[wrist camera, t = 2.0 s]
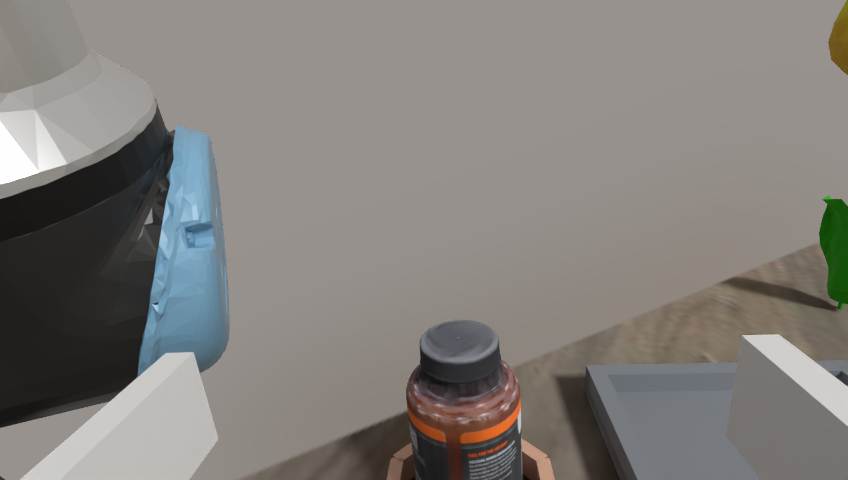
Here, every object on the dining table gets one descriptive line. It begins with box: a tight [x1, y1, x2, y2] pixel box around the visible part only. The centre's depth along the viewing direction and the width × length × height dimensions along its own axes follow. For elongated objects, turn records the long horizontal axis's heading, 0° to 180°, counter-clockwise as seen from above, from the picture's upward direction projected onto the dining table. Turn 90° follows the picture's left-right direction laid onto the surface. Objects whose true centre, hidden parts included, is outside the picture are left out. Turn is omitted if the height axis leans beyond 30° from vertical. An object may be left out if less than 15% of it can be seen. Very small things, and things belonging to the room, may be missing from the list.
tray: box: [585, 360, 848, 480], centre depth 25 cm, size 18×16×2 cm
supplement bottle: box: [406, 320, 522, 480], centre depth 23 cm, size 6×6×11 cm
